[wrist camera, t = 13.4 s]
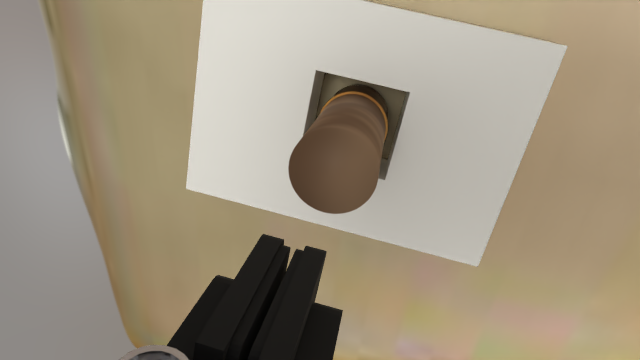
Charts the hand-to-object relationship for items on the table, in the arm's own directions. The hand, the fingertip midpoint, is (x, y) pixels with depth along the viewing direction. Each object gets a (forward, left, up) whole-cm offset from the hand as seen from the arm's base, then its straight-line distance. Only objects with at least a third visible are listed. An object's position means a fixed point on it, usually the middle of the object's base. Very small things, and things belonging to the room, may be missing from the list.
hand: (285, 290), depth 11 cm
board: (0, 0, -21) cm, 21 cm away
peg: (0, 0, -21) cm, 21 cm away
